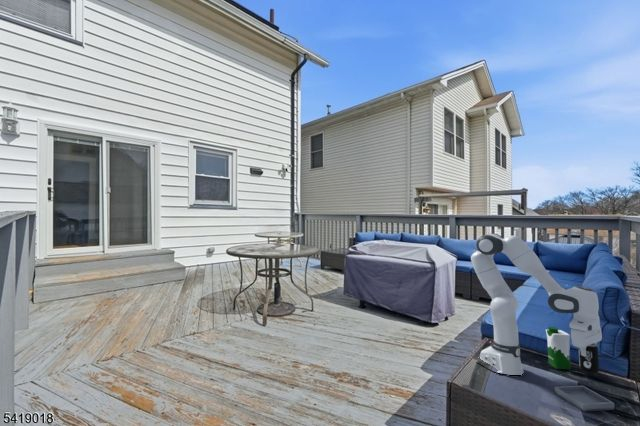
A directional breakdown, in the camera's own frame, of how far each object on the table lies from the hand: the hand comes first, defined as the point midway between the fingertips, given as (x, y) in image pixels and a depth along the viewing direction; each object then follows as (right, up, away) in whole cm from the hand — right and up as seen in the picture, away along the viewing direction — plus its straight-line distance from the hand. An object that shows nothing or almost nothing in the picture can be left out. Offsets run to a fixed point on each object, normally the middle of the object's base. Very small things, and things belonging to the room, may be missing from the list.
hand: (588, 353), depth 135 cm
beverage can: (0, -8, 0) cm, 8 cm away
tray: (-9, -17, -7) cm, 20 cm away
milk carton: (+6, -18, +24) cm, 31 cm away
